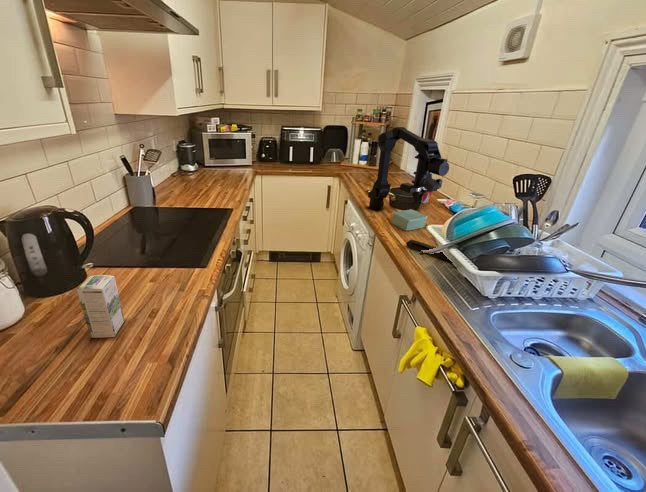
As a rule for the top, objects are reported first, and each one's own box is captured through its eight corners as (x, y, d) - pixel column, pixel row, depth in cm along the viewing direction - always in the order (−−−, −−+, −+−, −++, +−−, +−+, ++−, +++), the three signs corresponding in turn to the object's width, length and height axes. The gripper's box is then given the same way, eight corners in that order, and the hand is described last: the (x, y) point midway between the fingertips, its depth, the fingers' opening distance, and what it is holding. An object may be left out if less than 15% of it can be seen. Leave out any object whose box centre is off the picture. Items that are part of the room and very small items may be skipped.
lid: (427, 218, 138) (428, 216, 138) (408, 221, 134) (409, 220, 134) (411, 210, 147) (411, 209, 147) (393, 213, 142) (393, 212, 142)
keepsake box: (424, 227, 141) (426, 217, 139) (405, 231, 136) (407, 221, 134) (409, 219, 149) (411, 210, 147) (391, 223, 144) (392, 213, 142)
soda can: (430, 204, 170) (434, 184, 166) (417, 203, 172) (421, 183, 167) (427, 200, 177) (432, 181, 172) (415, 199, 178) (419, 180, 173)
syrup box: (102, 322, 78) (88, 274, 72) (126, 321, 78) (114, 274, 73) (90, 338, 73) (74, 289, 67) (115, 337, 73) (102, 288, 67)
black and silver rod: (405, 246, 122) (406, 240, 121) (408, 244, 124) (409, 238, 123) (452, 263, 111) (453, 256, 110) (454, 260, 113) (456, 253, 112)
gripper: (421, 176, 119) (414, 213, 125) (454, 173, 127) (445, 207, 133) (401, 170, 129) (395, 204, 135) (433, 167, 136) (426, 199, 142)
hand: (416, 204), depth 136 cm, fingers closed
